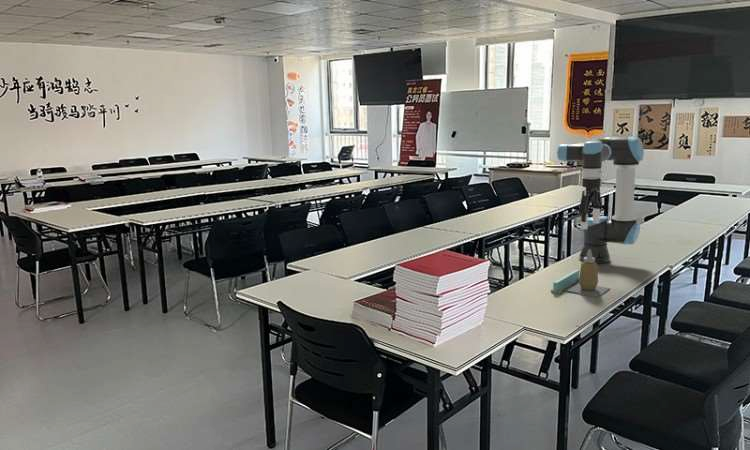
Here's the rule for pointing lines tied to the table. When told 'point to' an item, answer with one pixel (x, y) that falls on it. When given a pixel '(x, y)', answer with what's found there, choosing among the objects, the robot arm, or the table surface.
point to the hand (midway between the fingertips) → (590, 226)
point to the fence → (565, 282)
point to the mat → (594, 293)
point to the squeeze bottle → (588, 273)
